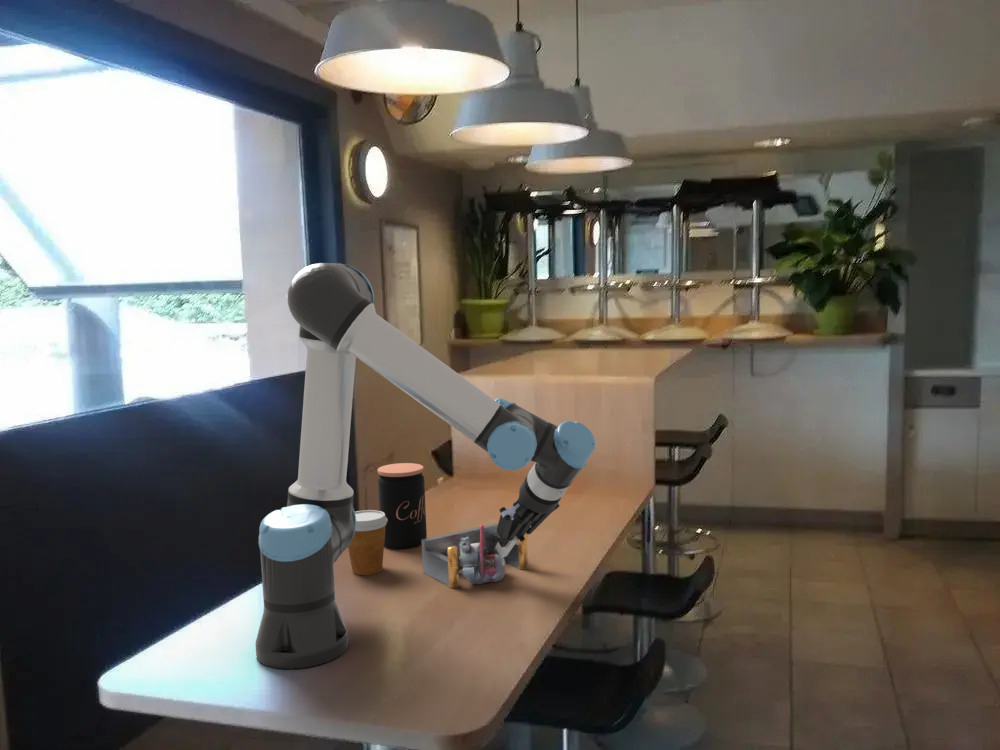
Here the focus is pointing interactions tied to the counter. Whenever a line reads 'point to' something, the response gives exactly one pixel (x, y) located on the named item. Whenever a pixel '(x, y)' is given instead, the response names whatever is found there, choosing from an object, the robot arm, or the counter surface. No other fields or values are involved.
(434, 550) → the bracket
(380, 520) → the disposable coffee cup
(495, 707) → the counter surface
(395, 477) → the coffee jar
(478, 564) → the brake caliper
